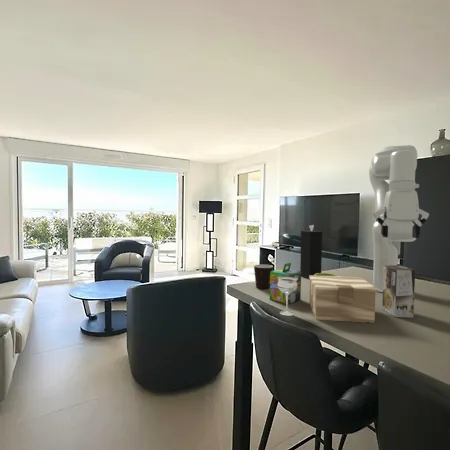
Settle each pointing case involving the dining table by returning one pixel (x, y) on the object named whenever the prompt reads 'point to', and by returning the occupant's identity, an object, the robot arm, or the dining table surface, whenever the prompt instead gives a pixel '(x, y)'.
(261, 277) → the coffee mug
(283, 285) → the wineglass
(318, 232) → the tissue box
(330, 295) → the box
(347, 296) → the lid
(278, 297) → the chalk box
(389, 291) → the coffee box
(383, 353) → the dining table surface
